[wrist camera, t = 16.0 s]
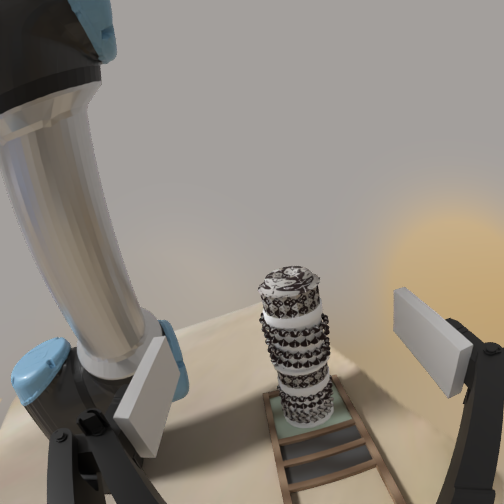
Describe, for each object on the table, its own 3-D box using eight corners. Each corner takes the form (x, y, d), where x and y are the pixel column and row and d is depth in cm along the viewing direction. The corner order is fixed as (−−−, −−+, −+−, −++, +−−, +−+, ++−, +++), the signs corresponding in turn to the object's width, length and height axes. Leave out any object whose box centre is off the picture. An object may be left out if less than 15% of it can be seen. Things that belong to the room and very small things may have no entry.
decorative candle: (272, 407, 46) (240, 276, 40) (317, 385, 49) (298, 256, 43) (297, 439, 38) (268, 294, 32) (346, 411, 41) (336, 269, 35)
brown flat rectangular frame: (415, 526, 17) (417, 524, 17) (297, 566, 16) (296, 565, 16) (336, 378, 50) (336, 374, 50) (263, 397, 49) (262, 393, 49)
